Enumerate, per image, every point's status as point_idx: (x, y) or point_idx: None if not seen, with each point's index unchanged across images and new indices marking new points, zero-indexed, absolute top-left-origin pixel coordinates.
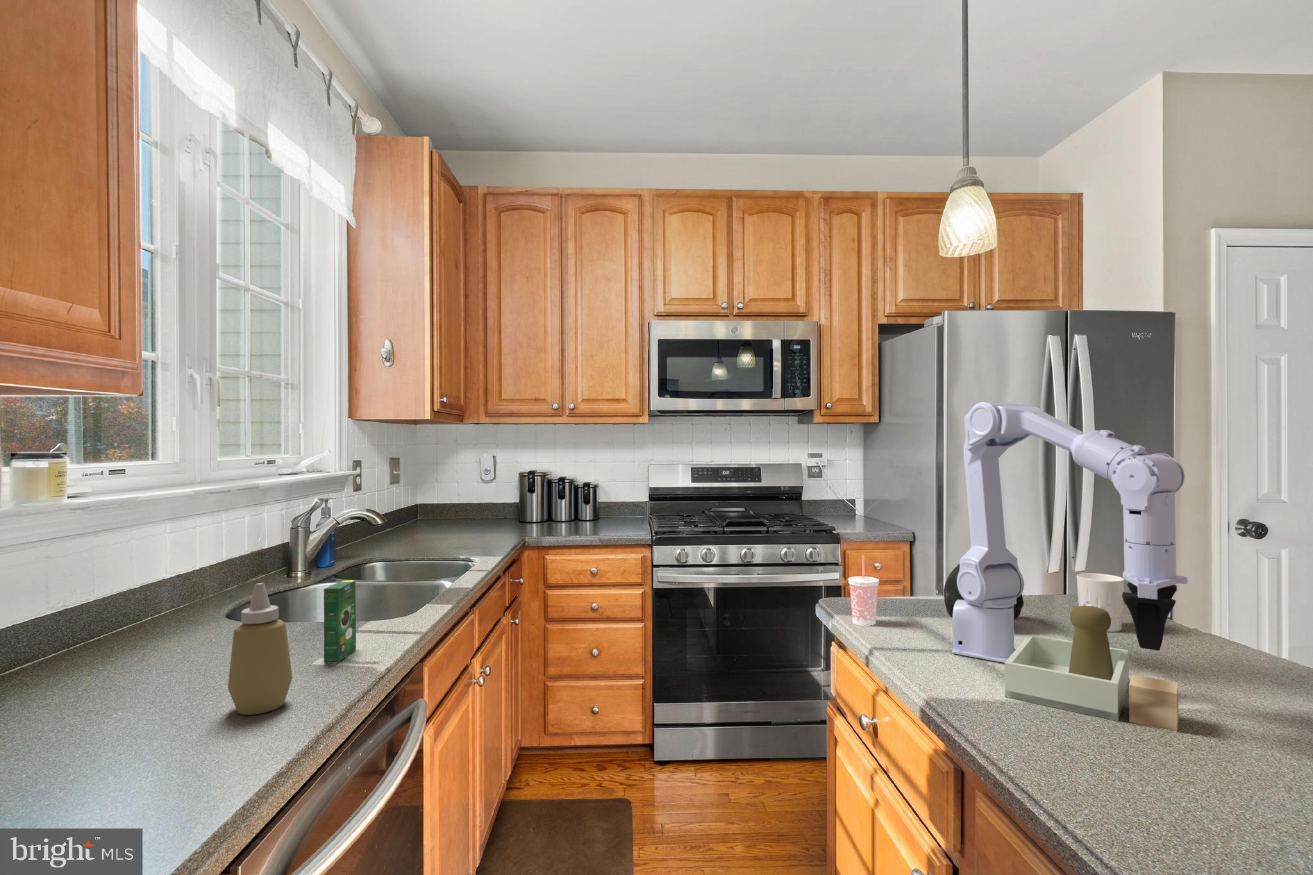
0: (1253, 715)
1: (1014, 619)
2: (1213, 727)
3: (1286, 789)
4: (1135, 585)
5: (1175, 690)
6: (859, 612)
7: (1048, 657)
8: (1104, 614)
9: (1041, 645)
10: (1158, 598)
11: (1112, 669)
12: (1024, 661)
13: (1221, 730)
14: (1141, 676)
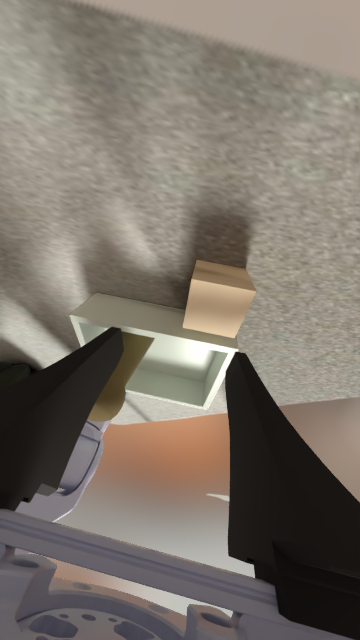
0: (115, 134)
1: (5, 363)
2: (209, 219)
3: None
4: (41, 490)
5: (238, 289)
6: (103, 432)
7: None
8: (97, 401)
9: None
10: (341, 587)
11: None
12: (148, 380)
13: (217, 209)
14: (185, 319)
